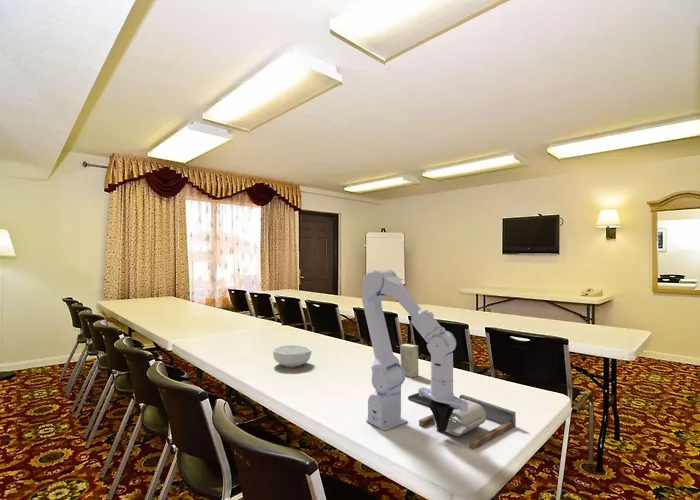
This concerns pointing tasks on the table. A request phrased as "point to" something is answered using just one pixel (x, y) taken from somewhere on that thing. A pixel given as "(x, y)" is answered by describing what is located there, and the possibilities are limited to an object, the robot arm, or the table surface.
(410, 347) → the skincare box
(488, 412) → the rail channel
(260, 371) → the table surface
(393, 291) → the robot arm
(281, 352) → the cereal bowl
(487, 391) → the table surface
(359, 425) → the table surface
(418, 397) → the phone
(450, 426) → the cable organizer
